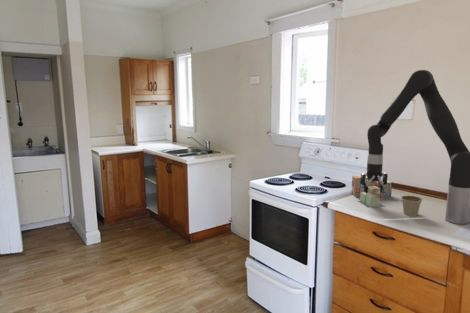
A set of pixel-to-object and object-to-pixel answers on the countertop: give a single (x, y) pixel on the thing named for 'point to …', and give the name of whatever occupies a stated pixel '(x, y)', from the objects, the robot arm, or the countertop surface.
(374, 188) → the maple block
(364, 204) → the build mat
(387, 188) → the stack of blocks
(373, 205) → the sage block near
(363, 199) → the sage block far
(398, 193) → the countertop surface
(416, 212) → the flower pot
